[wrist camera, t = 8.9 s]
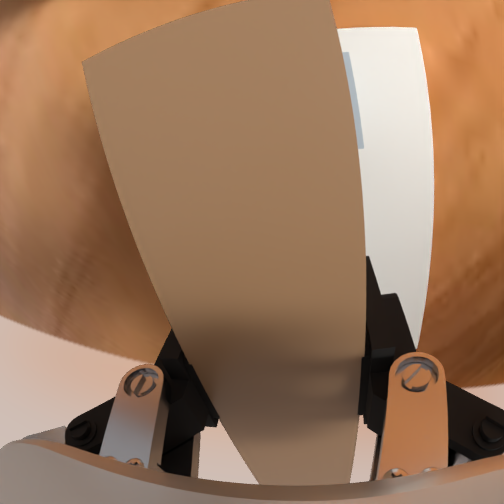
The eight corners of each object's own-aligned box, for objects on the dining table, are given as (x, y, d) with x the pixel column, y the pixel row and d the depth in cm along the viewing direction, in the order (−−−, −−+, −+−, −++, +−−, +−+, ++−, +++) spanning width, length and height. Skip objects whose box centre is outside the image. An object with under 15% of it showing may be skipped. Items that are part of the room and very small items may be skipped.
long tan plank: (314, 33, 6) (326, -12, 3) (347, 414, 14) (349, 484, 10) (169, 65, 7) (81, 61, 4) (270, 418, 15) (260, 486, 11)
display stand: (405, 32, 10) (457, 11, 6) (412, 332, 19) (430, 397, 14) (126, 84, 14) (57, 93, 9) (212, 348, 22) (192, 411, 17)
